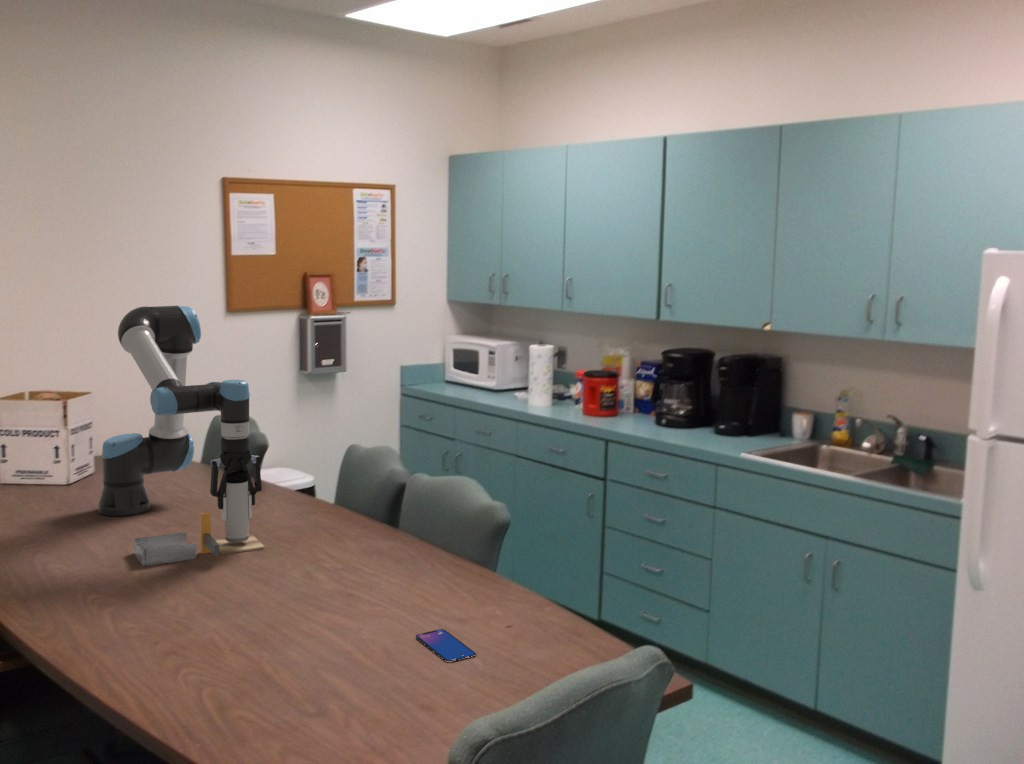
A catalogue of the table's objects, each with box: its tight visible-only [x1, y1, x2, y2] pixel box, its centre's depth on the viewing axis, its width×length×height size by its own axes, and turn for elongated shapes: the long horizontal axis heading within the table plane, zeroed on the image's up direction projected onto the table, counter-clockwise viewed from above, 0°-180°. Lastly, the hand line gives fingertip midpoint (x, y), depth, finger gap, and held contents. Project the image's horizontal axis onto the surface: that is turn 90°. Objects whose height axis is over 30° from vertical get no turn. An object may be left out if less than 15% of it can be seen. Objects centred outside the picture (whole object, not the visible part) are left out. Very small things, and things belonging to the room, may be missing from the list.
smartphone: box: [415, 628, 477, 661], centre depth 199 cm, size 7×1×15 cm
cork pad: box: [214, 534, 266, 556], centre depth 262 cm, size 12×12×1 cm
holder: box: [133, 531, 197, 567], centre depth 252 cm, size 12×14×4 cm
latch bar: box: [199, 511, 221, 557], centre depth 250 cm, size 13×2×11 cm, turn 32°
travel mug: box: [224, 470, 250, 543], centre depth 261 cm, size 6×7×20 cm
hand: (236, 518), depth 261 cm, fingers closed on travel mug, 6 cm apart
